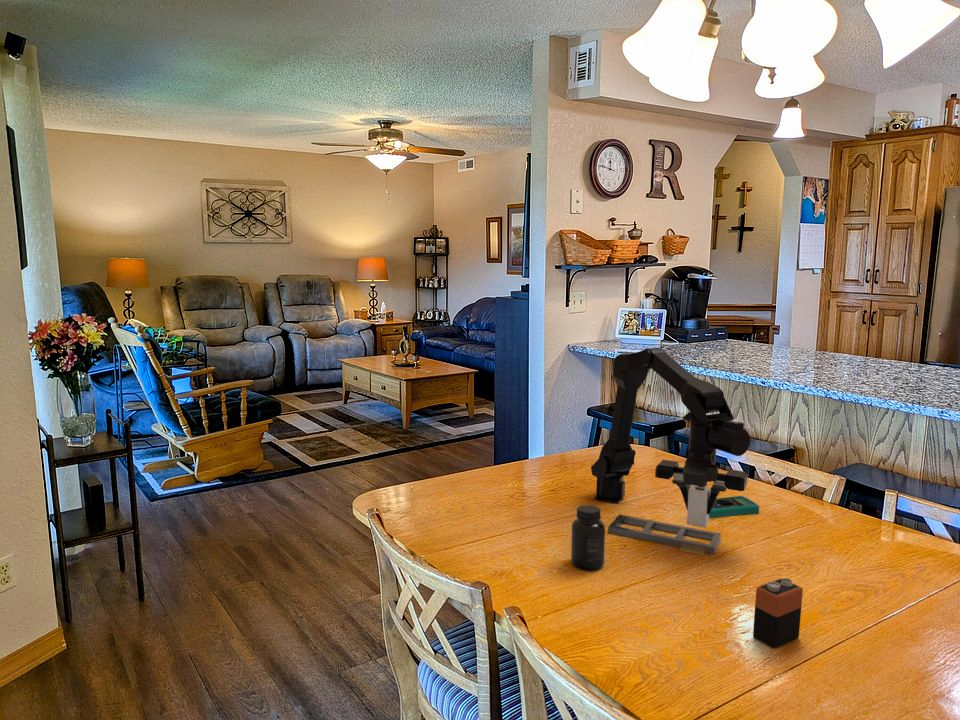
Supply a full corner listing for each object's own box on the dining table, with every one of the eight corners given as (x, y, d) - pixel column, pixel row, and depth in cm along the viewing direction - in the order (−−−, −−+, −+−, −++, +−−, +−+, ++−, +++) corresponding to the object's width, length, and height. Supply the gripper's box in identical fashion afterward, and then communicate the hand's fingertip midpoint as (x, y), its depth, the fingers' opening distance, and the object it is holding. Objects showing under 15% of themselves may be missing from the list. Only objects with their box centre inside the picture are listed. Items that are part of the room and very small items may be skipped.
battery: (751, 637, 115) (755, 581, 113) (777, 626, 118) (781, 572, 116) (774, 650, 111) (778, 592, 109) (800, 638, 114) (804, 582, 113)
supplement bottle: (606, 559, 143) (608, 505, 142) (601, 573, 137) (603, 516, 135) (574, 554, 146) (575, 501, 144) (567, 568, 139) (569, 512, 137)
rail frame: (605, 535, 156) (606, 529, 156) (619, 520, 165) (619, 514, 164) (712, 557, 145) (712, 550, 145) (720, 539, 154) (720, 533, 154)
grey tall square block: (686, 524, 151) (688, 488, 149) (690, 518, 154) (692, 483, 153) (705, 527, 149) (707, 492, 147) (708, 521, 152) (711, 486, 151)
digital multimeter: (690, 509, 173) (691, 498, 173) (742, 504, 177) (742, 493, 176) (707, 520, 166) (707, 509, 166) (760, 515, 170) (761, 504, 169)
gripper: (650, 446, 146) (647, 516, 148) (743, 459, 137) (737, 533, 140) (662, 434, 156) (659, 500, 158) (750, 446, 147) (745, 515, 149)
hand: (698, 512), depth 151 cm, fingers closed on grey tall square block, 4 cm apart
